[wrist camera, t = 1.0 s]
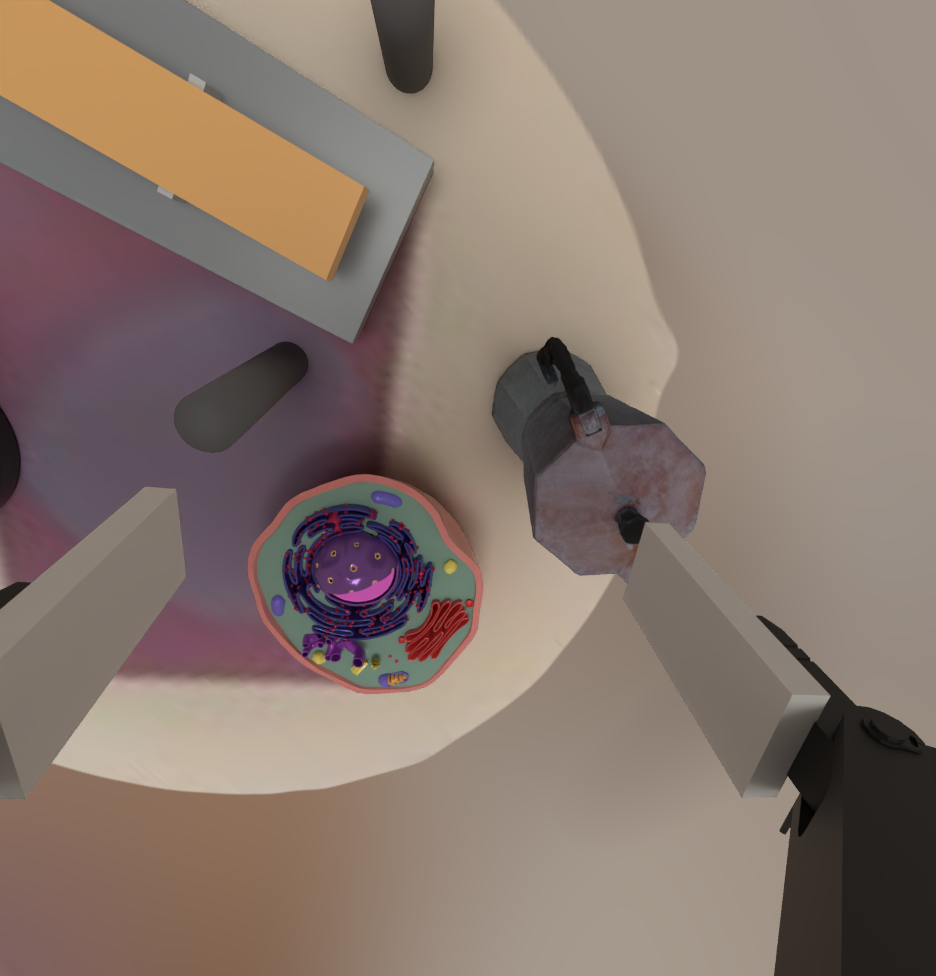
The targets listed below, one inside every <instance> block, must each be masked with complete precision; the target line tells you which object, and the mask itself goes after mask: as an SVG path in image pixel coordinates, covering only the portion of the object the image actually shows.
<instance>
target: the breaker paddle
mask: <svg viewBox="0 0 936 976" xmlns="http://www.w3.org/2000/svg"><path fill="white" fill-rule="evenodd" d="M0 95H1V96H2V97H4V98H6V99H8V100H9V101H11V102H13V103H15V104H17V105H18V106H20V107H22V108H24V109H25V110H27V111H29V112H31V113H32V114H34V115H36V116H38V117H39V118H41V119H43V120H45V121H46V122H48V123H50V124H52V125H54V126H55V127H57V128H59V129H61V130H62V131H64V132H66V133H68V134H69V135H71V136H73V137H75V138H76V139H78V140H80V141H82V142H83V143H85V144H87V145H89V146H90V147H92V148H94V149H96V150H98V151H99V152H101V153H103V154H105V155H106V156H108V157H110V158H112V159H113V160H115V161H117V162H119V163H120V164H122V165H124V166H126V167H127V168H129V169H131V170H133V171H135V172H136V173H138V174H140V175H142V176H143V177H145V178H147V179H149V180H150V181H152V182H154V183H156V184H157V185H159V186H161V187H163V188H164V189H166V190H168V191H170V192H171V193H173V194H175V195H177V196H179V197H180V198H182V199H184V200H186V201H187V202H189V203H191V204H193V205H194V206H196V207H198V208H200V209H201V210H203V211H205V212H207V213H208V214H210V215H212V216H214V217H216V218H217V219H219V220H221V221H223V222H224V223H226V224H228V225H230V226H231V227H233V228H235V229H237V230H238V231H240V232H242V233H244V234H245V235H247V236H249V237H251V238H252V239H254V240H256V241H258V242H260V243H261V244H263V245H265V246H267V247H268V248H270V249H272V250H274V251H275V252H277V253H279V254H281V255H282V256H284V257H286V258H288V259H289V260H291V261H293V262H295V263H297V264H298V265H300V266H302V267H304V268H305V269H307V270H309V271H311V272H312V273H314V274H316V275H318V276H319V277H321V278H323V279H325V280H328V281H332V280H333V278H334V275H335V273H336V270H337V268H338V265H339V263H340V261H341V258H342V256H343V253H344V251H345V248H346V246H347V244H348V241H349V239H350V236H351V234H352V232H353V229H354V227H355V224H356V222H357V219H358V217H359V215H360V212H361V210H362V207H363V205H364V202H365V200H366V198H367V195H368V193H369V190H368V189H367V188H366V187H364V186H363V185H361V184H359V183H358V182H356V181H354V180H353V179H351V178H349V177H348V176H346V175H344V174H343V173H341V172H339V171H337V170H336V169H334V168H332V167H331V166H329V165H327V164H326V163H324V162H322V161H321V160H319V159H317V158H315V157H314V156H312V155H310V154H309V153H307V152H305V151H304V150H302V149H300V148H298V147H297V146H295V145H293V144H292V143H290V142H288V141H287V140H285V139H283V138H282V137H280V136H278V135H276V134H275V133H273V132H271V131H270V130H268V129H266V128H265V127H263V126H261V125H260V124H258V123H256V122H254V121H253V120H251V119H249V118H248V117H246V116H244V115H243V114H241V113H239V112H238V111H236V110H234V109H232V108H231V107H229V106H227V105H226V104H224V103H222V102H221V101H219V100H217V99H216V98H214V97H212V96H210V95H209V94H207V93H205V92H204V91H202V90H200V89H199V88H197V87H195V86H194V85H192V84H190V83H188V82H187V81H185V80H183V79H182V78H180V77H178V76H177V75H175V74H173V73H172V72H170V71H168V70H166V69H165V68H163V67H161V66H160V65H158V64H156V63H155V62H153V61H151V60H150V59H148V58H146V57H144V56H143V55H141V54H139V53H138V52H136V51H134V50H133V49H131V48H129V47H127V46H126V45H124V44H122V43H121V42H119V41H117V40H116V39H114V38H112V37H111V36H109V35H107V34H105V33H104V32H102V31H100V30H99V29H97V28H95V27H94V26H92V25H90V24H89V23H87V22H85V21H83V20H82V19H80V18H78V17H77V16H75V15H73V14H72V13H70V12H68V11H67V10H65V9H63V8H61V7H60V6H58V5H56V4H55V3H53V2H51V1H50V0H0Z"/></svg>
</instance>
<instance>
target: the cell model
mask: <svg viewBox="0 0 936 976" xmlns="http://www.w3.org/2000/svg"><path fill="white" fill-rule="evenodd" d="M247 569H248V578H249V581H250V584H251V587H252V590H253V593H254V597H255V600H256V604H257V608H258V611H259V615H260V616H261V618H262V620H263V622H264V624H265V625H266V626H267V628H268V629H269V630H270V631H271V632H272V634H273V635H274V636H275V637H276V639H277V640H278V641H279V642H280V644H281V645H282V646H283V647H284V648H285V649H286V650H287V651H288V652H289V653H290V654H291V655H292V656H293V657H294V658H295V659H296V660H298V661H299V662H300V663H302V664H303V665H304V666H306V667H308V668H309V669H311V670H313V671H315V672H317V673H318V674H320V675H322V676H324V677H326V678H328V679H330V680H332V681H334V682H336V683H338V684H340V685H342V686H344V687H346V688H348V689H350V690H352V691H355V692H357V693H364V694H379V693H395V692H409V691H413V690H417V689H420V688H424V687H426V686H428V685H429V684H431V683H433V682H434V681H435V680H436V679H437V678H439V677H440V676H441V675H442V674H443V673H444V672H445V671H446V670H447V668H448V667H449V666H450V665H451V664H452V663H453V662H454V660H455V659H456V658H457V657H458V656H459V655H460V654H461V652H462V651H463V650H464V649H465V648H466V647H467V645H468V644H469V643H470V642H471V641H472V639H473V637H474V636H475V634H476V632H477V629H478V622H479V612H480V606H481V600H482V593H483V583H482V576H481V572H480V570H479V567H478V565H477V562H476V559H475V556H474V553H473V551H472V549H471V547H470V545H469V543H468V541H467V538H466V536H465V535H464V533H463V531H462V529H461V527H460V526H459V524H458V523H457V521H456V520H455V519H454V518H453V517H452V516H451V515H450V514H449V513H448V512H447V511H446V510H445V509H444V508H443V507H442V506H441V505H440V504H439V502H438V501H437V500H436V499H434V498H433V497H431V496H430V495H428V494H427V493H425V492H423V491H422V490H420V489H418V488H416V487H414V486H412V485H410V484H408V483H405V482H403V481H400V480H397V479H393V478H388V477H383V476H376V475H370V474H360V475H352V476H348V477H344V478H341V479H338V480H335V481H331V482H328V483H325V484H323V485H320V486H318V487H315V488H313V489H310V490H307V491H305V492H302V493H300V494H298V495H297V496H295V497H294V498H292V499H290V500H289V501H288V502H287V503H286V504H285V505H284V506H283V507H282V509H281V510H280V512H279V513H278V515H277V516H276V517H275V519H274V520H273V522H272V523H271V524H270V525H269V526H268V527H267V528H266V529H265V531H264V532H263V533H262V534H261V535H260V536H259V537H258V538H257V539H256V541H255V542H254V544H253V546H252V548H251V551H250V554H249V557H248V566H247Z"/></svg>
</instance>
